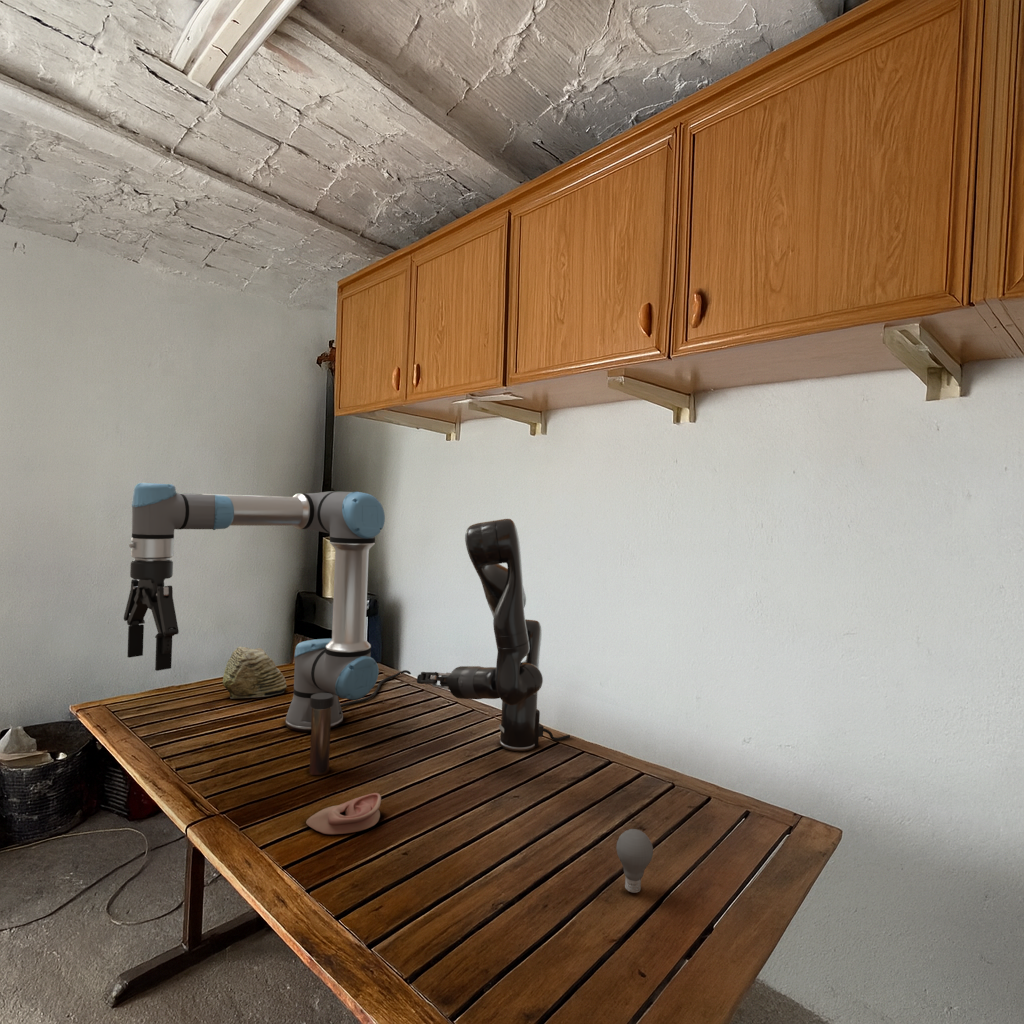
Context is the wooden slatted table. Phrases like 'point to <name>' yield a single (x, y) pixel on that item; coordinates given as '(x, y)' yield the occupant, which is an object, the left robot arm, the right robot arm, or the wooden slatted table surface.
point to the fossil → (252, 674)
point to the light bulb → (634, 857)
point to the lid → (321, 700)
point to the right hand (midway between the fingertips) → (432, 681)
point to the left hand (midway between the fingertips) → (148, 662)
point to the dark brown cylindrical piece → (320, 741)
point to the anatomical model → (347, 816)
